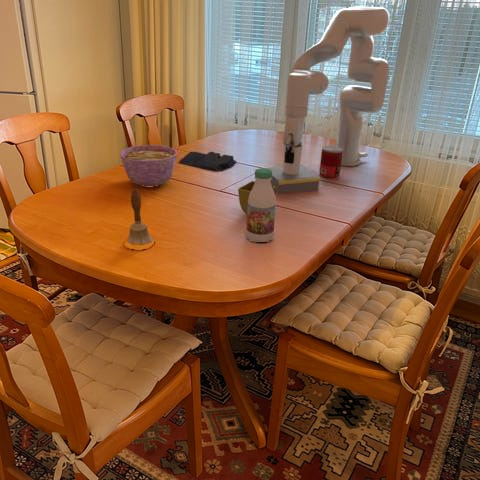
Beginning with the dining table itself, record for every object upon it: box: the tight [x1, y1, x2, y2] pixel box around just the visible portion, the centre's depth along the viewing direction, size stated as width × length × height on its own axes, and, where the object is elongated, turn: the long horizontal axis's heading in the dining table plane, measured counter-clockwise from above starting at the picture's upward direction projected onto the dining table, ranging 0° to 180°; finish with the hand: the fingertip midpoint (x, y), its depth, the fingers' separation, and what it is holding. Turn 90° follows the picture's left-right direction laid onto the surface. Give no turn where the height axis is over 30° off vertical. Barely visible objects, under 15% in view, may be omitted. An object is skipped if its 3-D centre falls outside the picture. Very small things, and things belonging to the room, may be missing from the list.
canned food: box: [318, 145, 343, 179], centre depth 178 cm, size 8×8×11 cm
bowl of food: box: [119, 144, 178, 186], centre depth 164 cm, size 20×20×12 cm
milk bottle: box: [246, 167, 277, 243], centre depth 125 cm, size 8×8×20 cm
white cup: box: [282, 143, 303, 175], centre depth 165 cm, size 7×7×10 cm
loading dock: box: [264, 164, 321, 195], centre depth 168 cm, size 16×15×5 cm
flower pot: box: [237, 180, 275, 215], centre depth 143 cm, size 9×9×9 cm
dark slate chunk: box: [178, 151, 238, 173], centre depth 189 cm, size 15×22×5 cm
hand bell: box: [126, 188, 154, 246], centre depth 121 cm, size 8×8×16 cm
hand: (292, 159), depth 165 cm, fingers open, 9 cm apart
